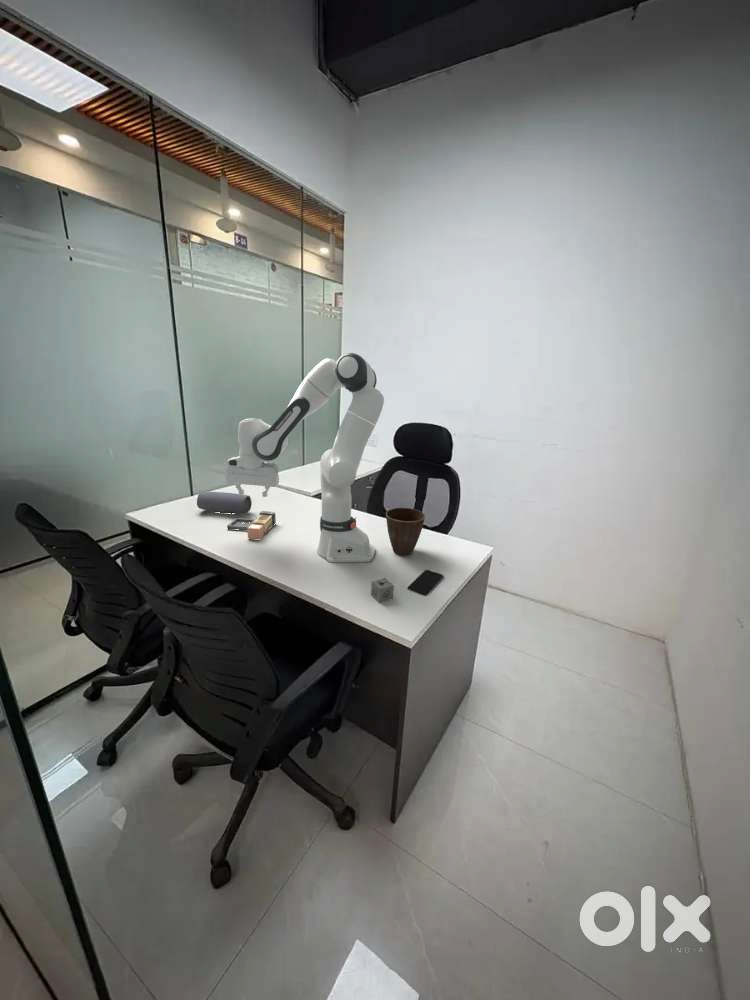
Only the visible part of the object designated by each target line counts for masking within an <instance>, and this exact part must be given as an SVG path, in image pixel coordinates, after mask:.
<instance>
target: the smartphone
mask: <svg viewBox="0 0 750 1000" xmlns="http://www.w3.org/2000/svg"><path fill="white" fill-rule="evenodd" d="M444 577H445V576H444V575H443V574H441V573H440V572H436V571H433V570H429V569H424V571H423V572H421V573H420V574H419V575H418V576H417V578H416V579H414V580H413V581H412V582H411V583H410V584H409V585H408V586H407V591H410V592H412V593H415V594H417V595H420V596H423V597H427V596H429V594H431V592H432V591H433V590H434V589H435V588H436V587H437V586H438V585H439V583H441V582H442V580H444Z"/></svg>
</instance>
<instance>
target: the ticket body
mask: <svg viewBox="0 0 750 1000" xmlns="http://www.w3.org/2000/svg"><path fill="white" fill-rule="evenodd" d="M275 523H276V524H277V520H276V512H275V511H268V510H267V511H266V510H264V511H263V510H261V511H260V512H259V516H258V517H257V518H256V519H255V521H254V522H253V525H263V533H264V534H265V533H266V532H267V531H268V530H269V531H270V529H271V528H272V527H273V526H272V525H274V524H275ZM276 524H275V525H276ZM271 526H272V527H271ZM270 527H271V528H270ZM269 528H270V529H269ZM269 531H268V532H269ZM268 532H267V533H268ZM267 533H266V534H267ZM266 534H265V535H266Z"/></svg>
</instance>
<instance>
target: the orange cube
mask: <svg viewBox="0 0 750 1000" xmlns="http://www.w3.org/2000/svg"><path fill="white" fill-rule="evenodd" d="M246 532H247V539H248V538H249V539H248V540H250V539H261V538H262V537H263V538H264V536H263V535H264V533H263V525H253V524H251V525H250V526H249V527H248V528H247V531H246ZM263 538H262V539H263ZM262 539H261V540H262Z"/></svg>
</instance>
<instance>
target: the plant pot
mask: <svg viewBox="0 0 750 1000" xmlns="http://www.w3.org/2000/svg"><path fill="white" fill-rule="evenodd" d="M385 518H386V520H385V521H386V526H387V534H388V537H389V542H390V545H391V549H392V551H393V553H394V555H397V556H401V557H406V556H410V555H412V554H413V551H414V550H415V548H416V545H417V543H418V541H419V538H420V536H421V532H422V530H423V526H424V523H425V518H426V515H425V514H424V512H423V511H421V510H419V509H415V508H410V507H395V508H394V507H393V508H390V509H388V510H387V511H386V512H385Z"/></svg>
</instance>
